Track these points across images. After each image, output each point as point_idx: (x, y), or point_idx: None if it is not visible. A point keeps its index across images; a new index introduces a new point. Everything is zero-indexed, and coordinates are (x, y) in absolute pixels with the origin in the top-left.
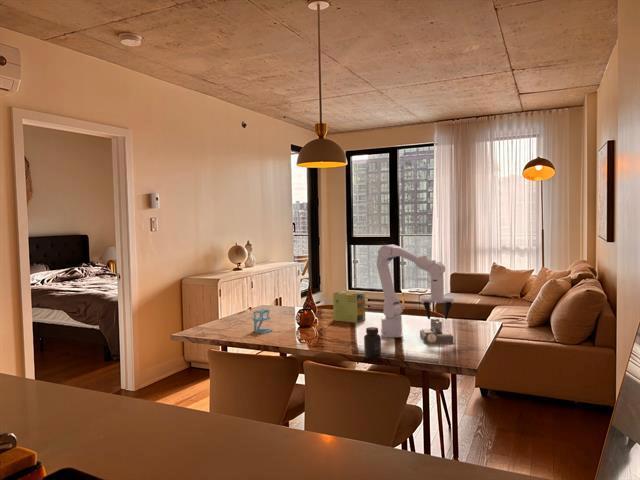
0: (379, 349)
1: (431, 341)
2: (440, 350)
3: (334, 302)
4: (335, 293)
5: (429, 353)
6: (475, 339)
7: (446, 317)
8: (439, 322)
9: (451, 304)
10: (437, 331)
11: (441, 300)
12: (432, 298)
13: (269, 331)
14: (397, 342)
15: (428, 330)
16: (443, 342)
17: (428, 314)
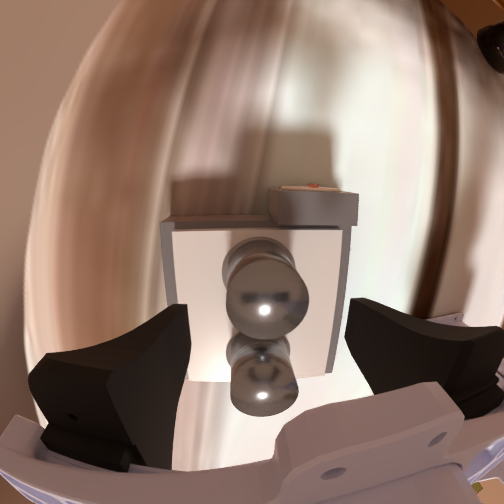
0: (493, 24)
1: (307, 186)
2: (276, 59)
3: None
4: (481, 489)
5: (336, 24)
6: (65, 293)
7: (173, 307)
8: (251, 286)
9: (31, 374)
10: (267, 244)
11: (242, 487)
12: (468, 484)
13: None
14: (442, 234)
15: (301, 340)
16: (227, 215)
17: (390, 309)
